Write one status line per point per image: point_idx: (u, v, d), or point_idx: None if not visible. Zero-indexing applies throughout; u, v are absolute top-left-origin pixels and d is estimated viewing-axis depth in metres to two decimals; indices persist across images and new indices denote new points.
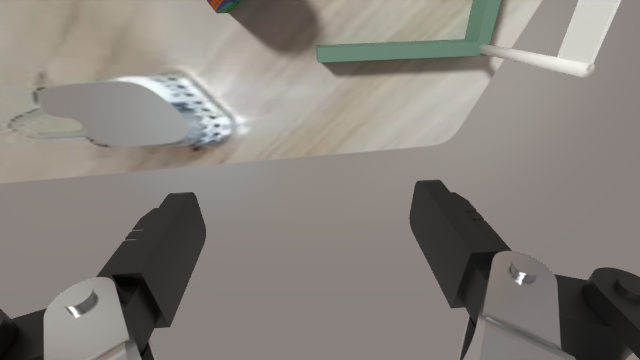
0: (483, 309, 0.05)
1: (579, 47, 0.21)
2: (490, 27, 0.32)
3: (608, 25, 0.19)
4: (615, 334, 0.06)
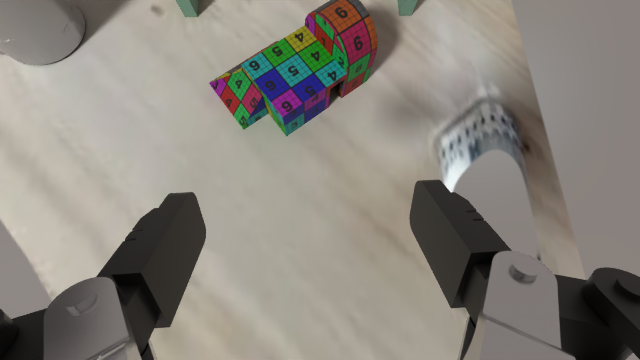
0: (483, 309, 0.05)
1: None
2: None
3: None
4: (615, 334, 0.06)
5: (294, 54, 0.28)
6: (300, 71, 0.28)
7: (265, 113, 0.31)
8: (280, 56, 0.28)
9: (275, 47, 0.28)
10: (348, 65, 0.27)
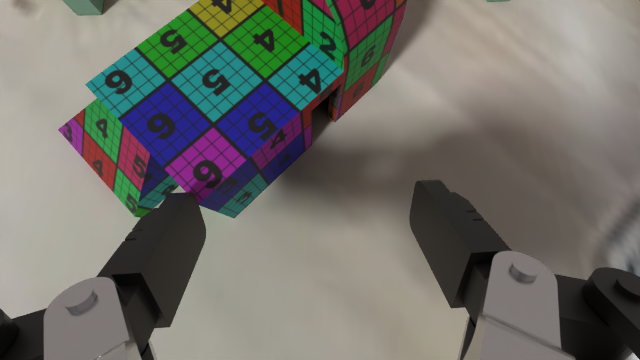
0: (483, 309, 0.05)
1: None
2: None
3: None
4: (615, 334, 0.06)
5: (215, 44, 0.12)
6: (232, 81, 0.11)
7: None
8: (180, 52, 0.12)
9: (168, 32, 0.12)
10: (347, 51, 0.11)
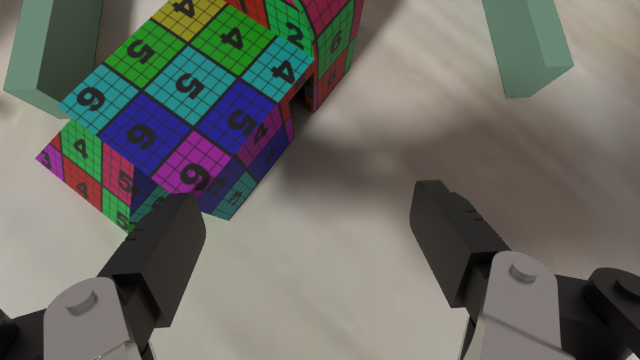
0: (483, 309, 0.05)
1: None
2: None
3: None
4: (615, 334, 0.06)
5: (183, 48, 0.12)
6: (206, 83, 0.11)
7: None
8: (150, 61, 0.12)
9: (134, 43, 0.12)
10: (314, 38, 0.11)
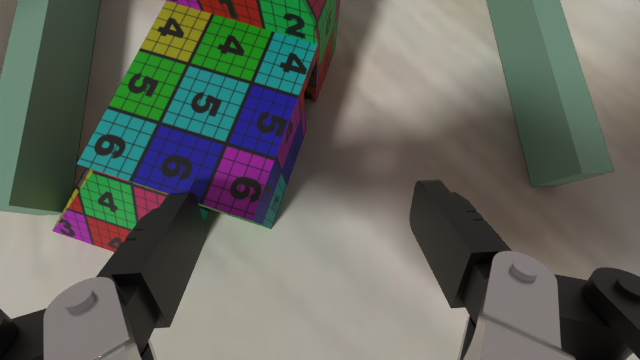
0: (483, 309, 0.05)
1: None
2: None
3: None
4: (615, 334, 0.06)
5: (185, 70, 0.11)
6: (222, 97, 0.11)
7: (204, 215, 0.14)
8: (156, 91, 0.11)
9: (133, 79, 0.11)
10: (316, 22, 0.11)
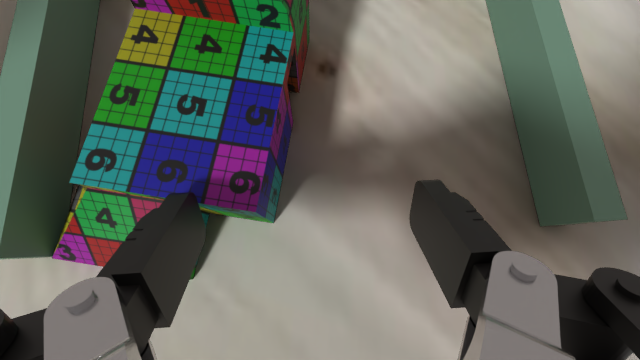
0: (483, 309, 0.05)
1: None
2: None
3: None
4: (615, 334, 0.06)
5: (165, 74, 0.11)
6: (206, 96, 0.11)
7: (205, 219, 0.14)
8: (139, 100, 0.11)
9: (113, 90, 0.11)
10: (289, 10, 0.11)
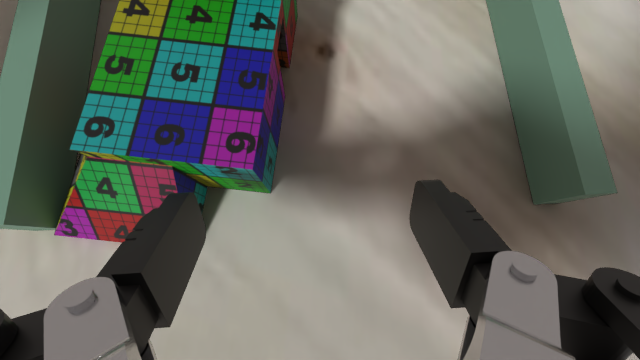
0: (483, 309, 0.05)
1: None
2: None
3: None
4: (615, 334, 0.06)
5: (158, 44, 0.12)
6: (200, 63, 0.12)
7: (203, 191, 0.15)
8: (134, 69, 0.11)
9: (108, 61, 0.11)
10: None
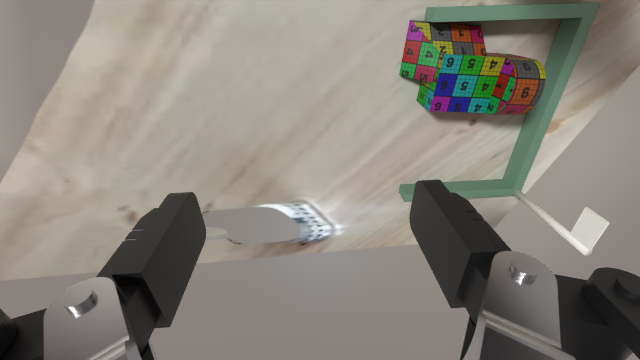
0: (483, 309, 0.05)
1: (583, 237, 0.36)
2: (522, 181, 0.46)
3: (600, 235, 0.34)
4: (615, 334, 0.06)
5: (476, 75, 0.35)
6: (466, 90, 0.36)
7: None
8: (468, 69, 0.35)
9: (473, 59, 0.34)
10: None
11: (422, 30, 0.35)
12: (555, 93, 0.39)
